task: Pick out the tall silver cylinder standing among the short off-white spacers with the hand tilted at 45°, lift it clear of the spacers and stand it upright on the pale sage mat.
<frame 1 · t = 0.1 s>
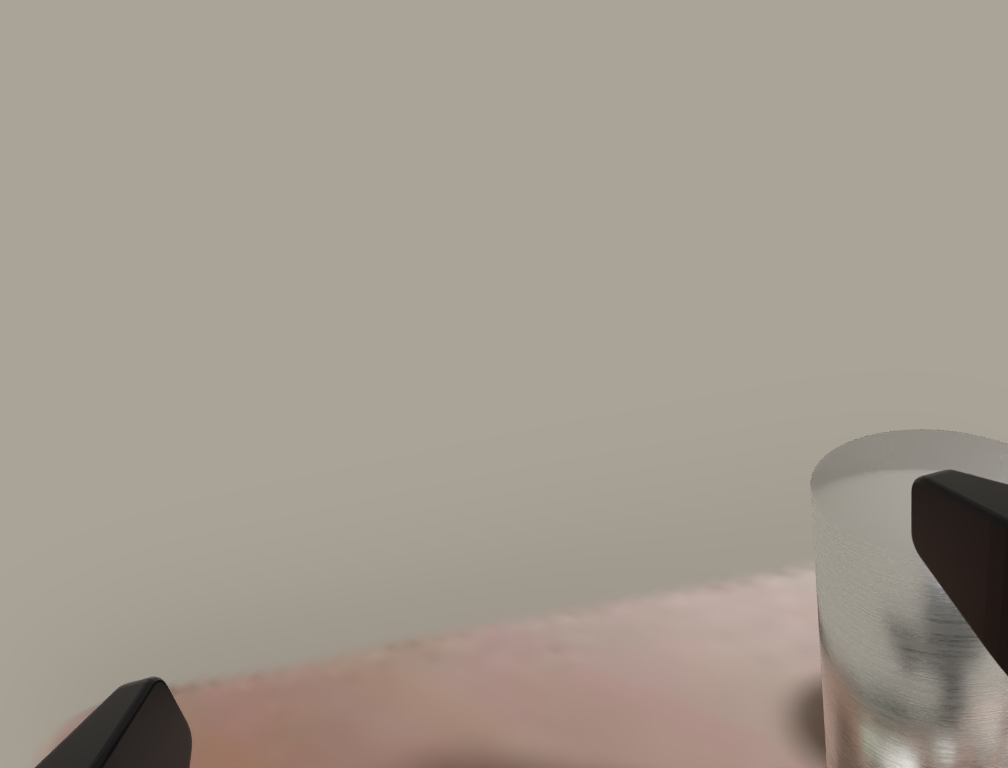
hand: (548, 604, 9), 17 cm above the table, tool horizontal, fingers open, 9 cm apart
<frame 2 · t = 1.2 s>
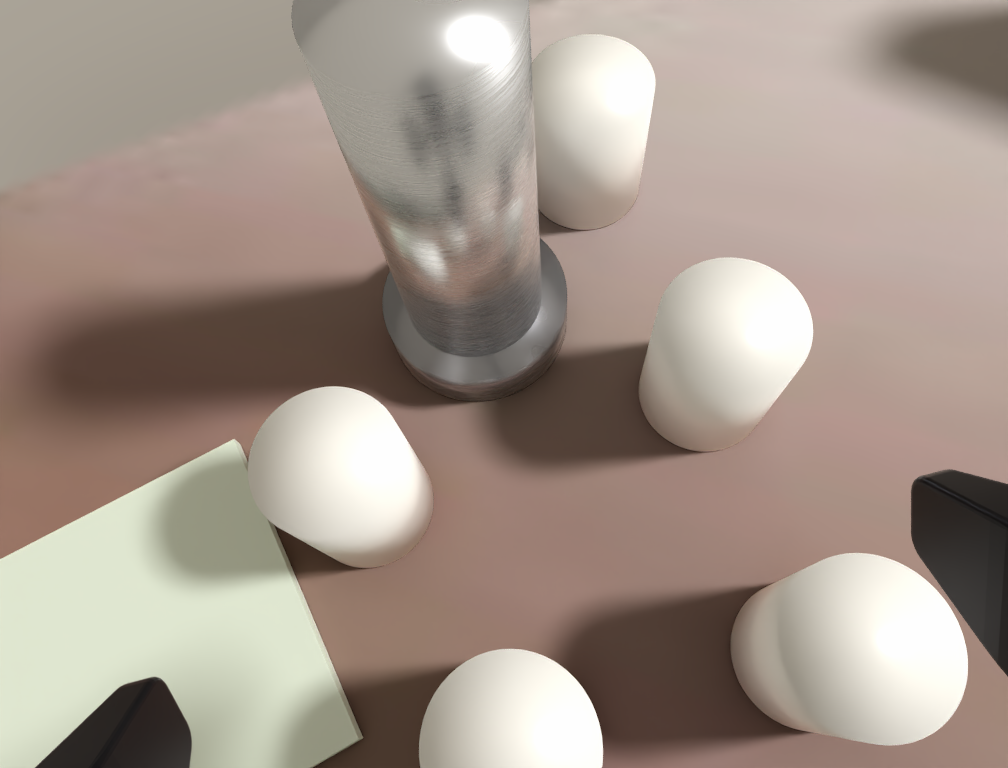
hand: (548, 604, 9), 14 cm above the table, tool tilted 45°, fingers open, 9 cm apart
sage mat: (144, 662, 22), on the table
silver cylinder: (479, 320, 26), on the table
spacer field: (567, 466, 24), on the table
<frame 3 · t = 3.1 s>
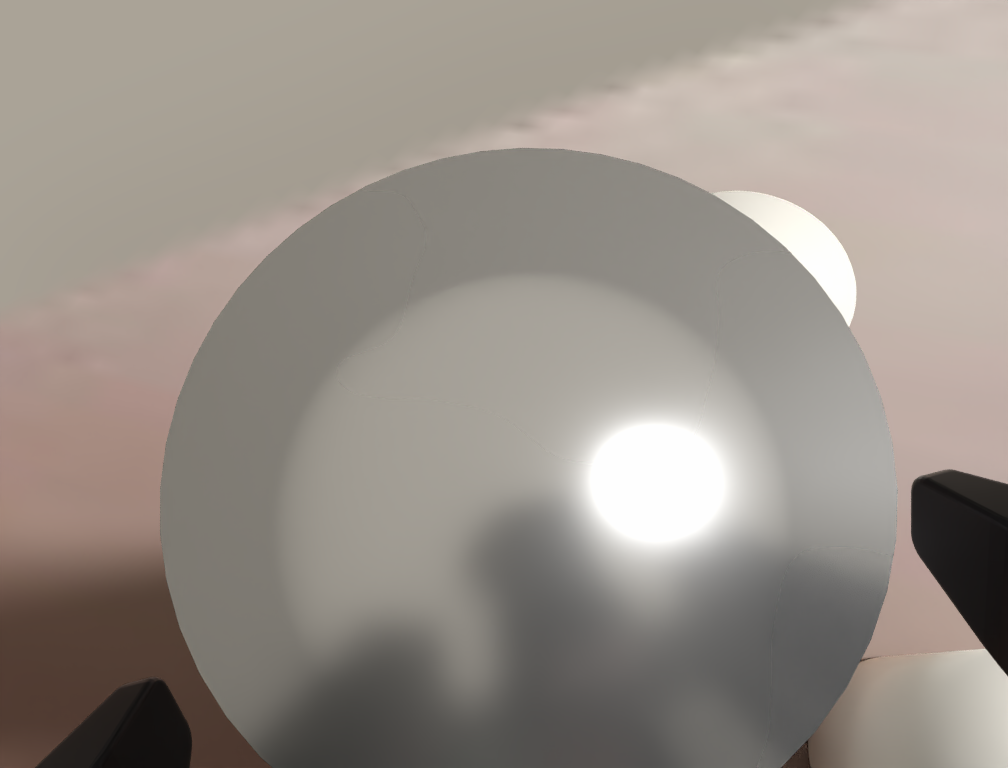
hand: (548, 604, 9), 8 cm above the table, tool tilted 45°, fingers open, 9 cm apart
silver cylinder: (547, 616, 17), on the table
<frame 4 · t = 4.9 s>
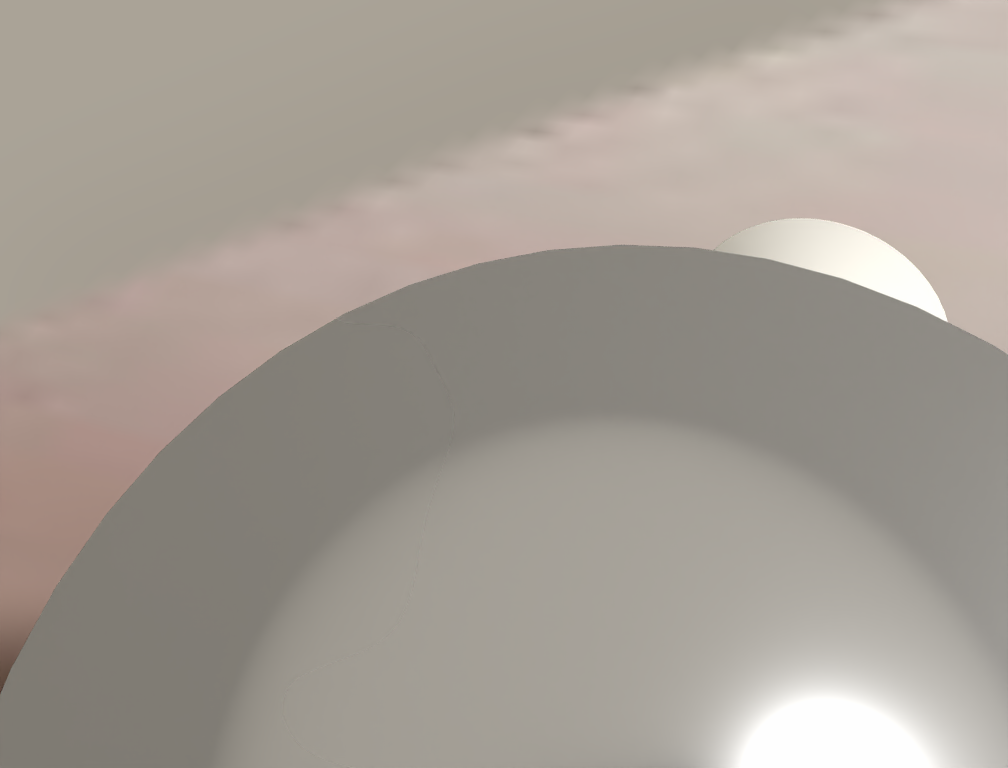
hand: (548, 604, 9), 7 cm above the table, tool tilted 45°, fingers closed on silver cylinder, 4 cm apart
silver cylinder: (570, 706, 14), on the table, touching gripper
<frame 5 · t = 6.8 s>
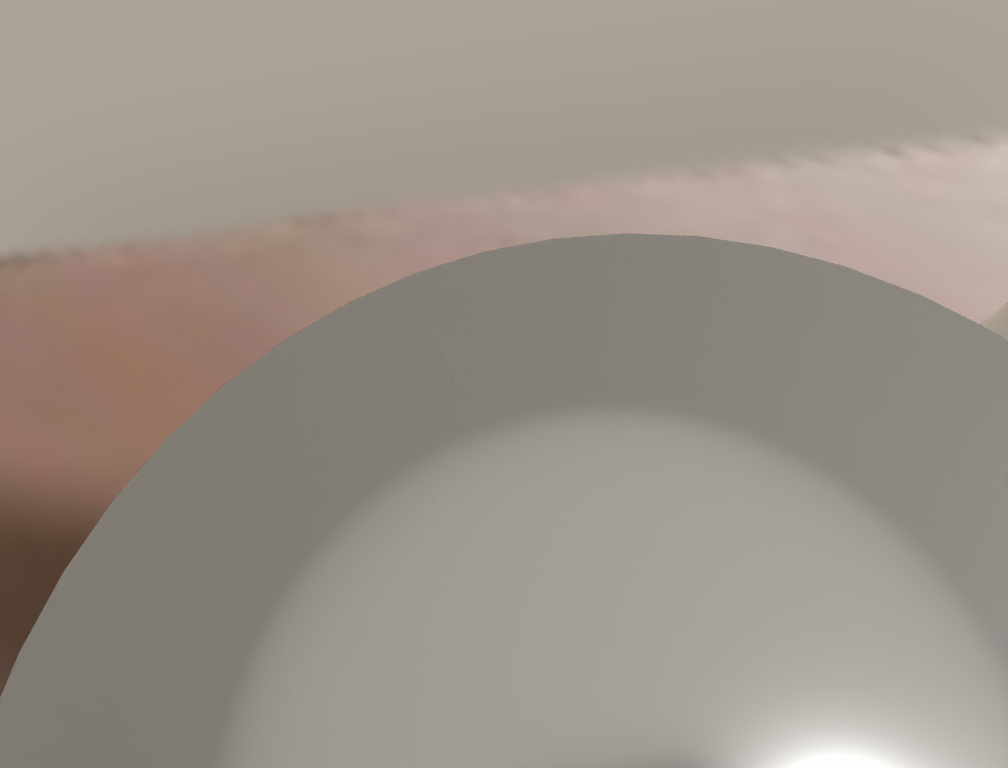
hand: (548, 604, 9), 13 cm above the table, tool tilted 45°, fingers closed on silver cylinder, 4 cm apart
silver cylinder: (571, 704, 14), point 7 cm above the table, touching gripper
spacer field: (934, 756, 20), on the table
when the fingers open (8 cm above the table, at t = 8.8 s): silver cylinder drops 1 cm, resting on sage mat.
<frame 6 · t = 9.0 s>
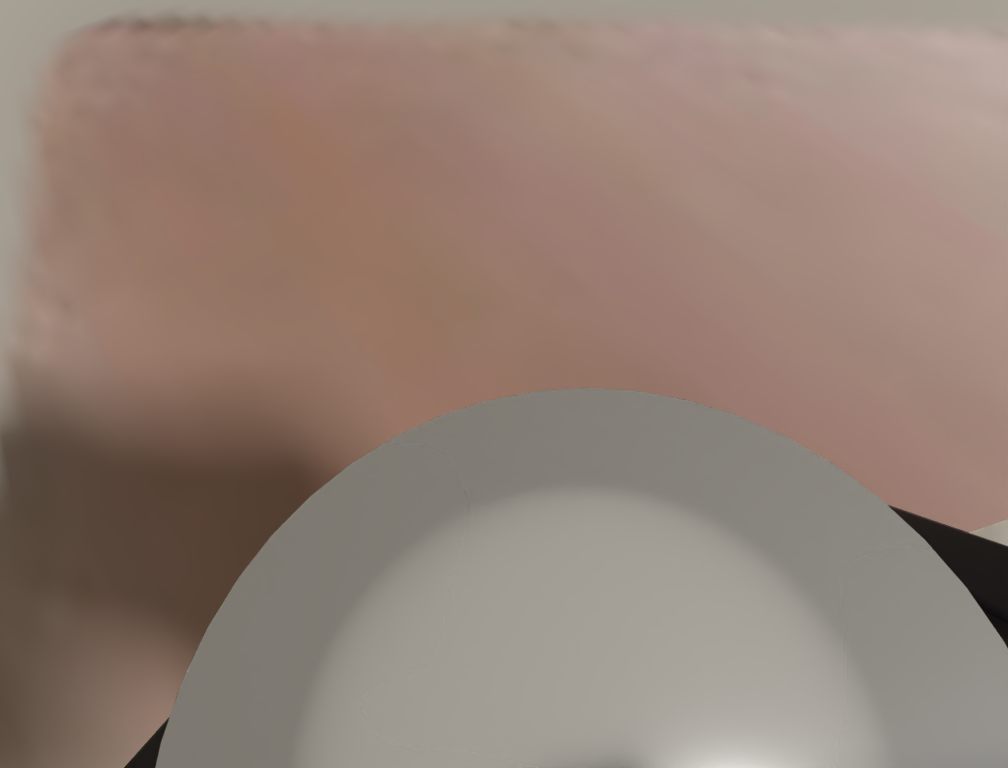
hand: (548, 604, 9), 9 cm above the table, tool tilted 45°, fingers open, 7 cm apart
silver cylinder: (570, 707, 16), point 1 cm above the table, touching sage mat
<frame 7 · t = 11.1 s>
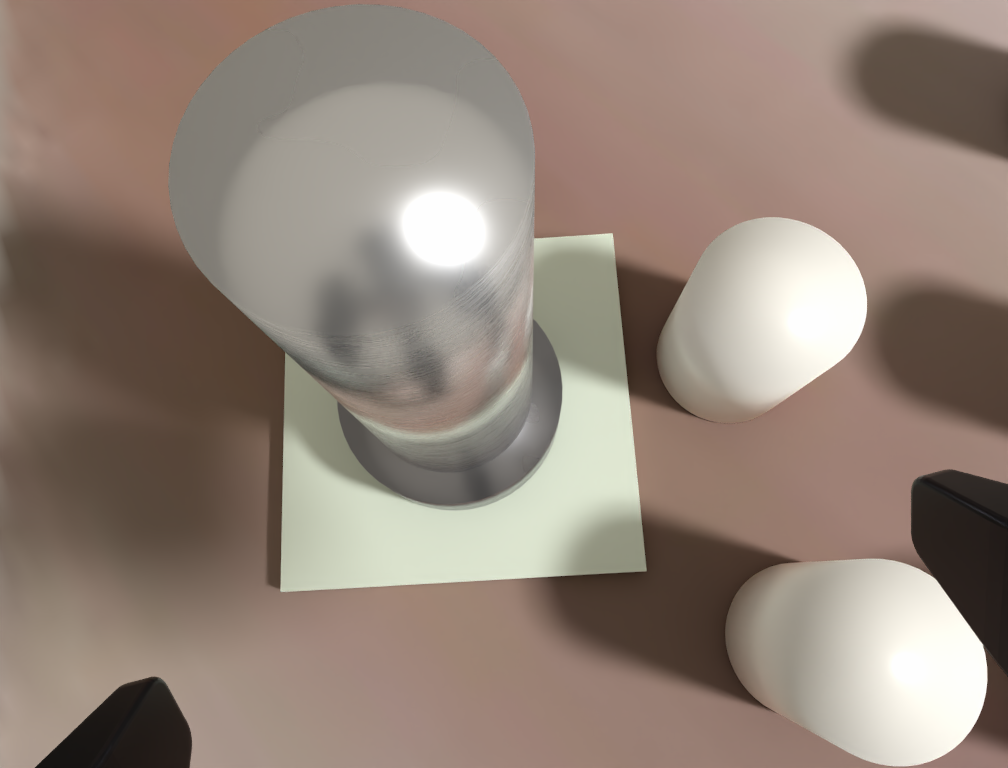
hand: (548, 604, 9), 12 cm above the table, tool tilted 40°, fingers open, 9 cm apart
sage mat: (457, 406, 22), on the table
silver cylinder: (455, 405, 21), point 1 cm above the table, touching sage mat
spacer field: (941, 410, 21), on the table
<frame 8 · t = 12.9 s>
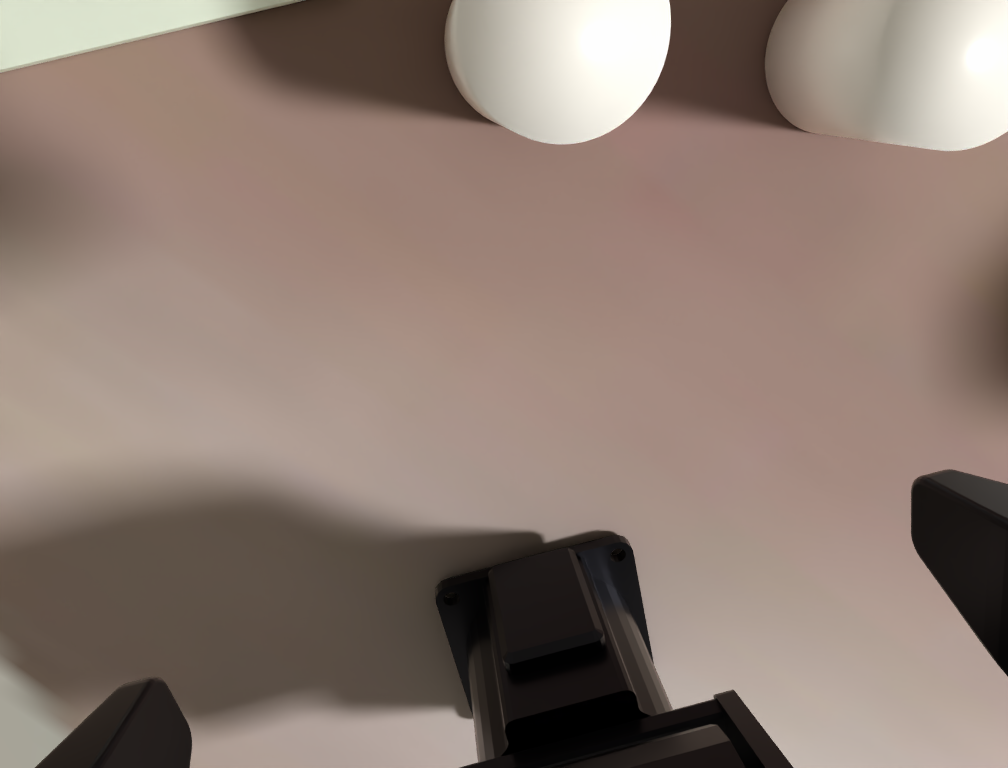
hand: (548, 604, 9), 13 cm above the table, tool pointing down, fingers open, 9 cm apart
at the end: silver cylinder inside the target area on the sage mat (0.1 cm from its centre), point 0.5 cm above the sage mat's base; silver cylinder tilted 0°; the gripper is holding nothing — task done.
